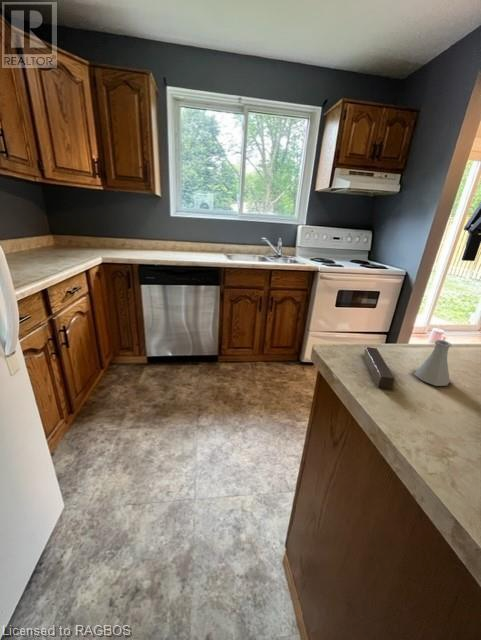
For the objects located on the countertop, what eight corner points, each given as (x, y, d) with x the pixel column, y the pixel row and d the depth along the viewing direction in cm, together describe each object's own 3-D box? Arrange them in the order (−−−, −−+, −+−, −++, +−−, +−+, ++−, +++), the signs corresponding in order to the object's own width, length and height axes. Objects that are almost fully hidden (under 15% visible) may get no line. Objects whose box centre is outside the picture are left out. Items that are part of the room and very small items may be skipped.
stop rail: (374, 357, 77) (376, 348, 76) (391, 389, 63) (395, 378, 61) (363, 356, 78) (365, 346, 77) (377, 387, 63) (380, 376, 62)
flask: (408, 373, 70) (418, 338, 66) (426, 369, 72) (437, 334, 69) (436, 389, 63) (450, 351, 60) (455, 383, 66) (469, 346, 63)
